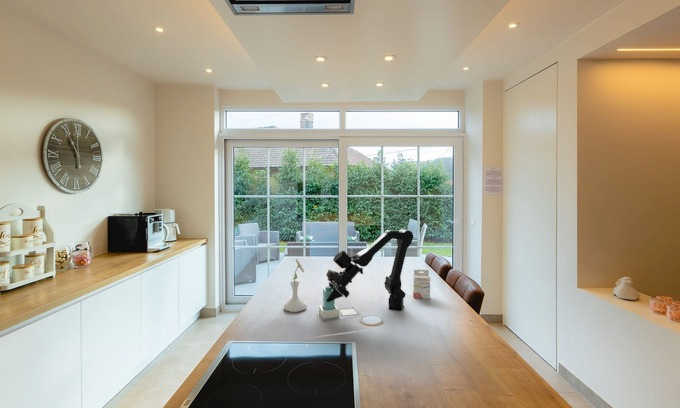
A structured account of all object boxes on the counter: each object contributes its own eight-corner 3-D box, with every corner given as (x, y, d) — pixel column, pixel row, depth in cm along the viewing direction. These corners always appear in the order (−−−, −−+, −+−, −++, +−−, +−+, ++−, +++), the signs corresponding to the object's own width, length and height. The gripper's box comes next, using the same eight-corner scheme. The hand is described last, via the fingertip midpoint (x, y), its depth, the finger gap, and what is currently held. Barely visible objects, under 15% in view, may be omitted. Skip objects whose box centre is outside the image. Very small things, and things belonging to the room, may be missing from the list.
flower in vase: (302, 315, 162) (301, 263, 161) (280, 313, 164) (279, 262, 163) (310, 305, 175) (309, 257, 173) (289, 304, 177) (288, 256, 176)
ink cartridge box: (414, 298, 184) (414, 271, 183) (413, 295, 188) (413, 269, 188) (430, 298, 183) (430, 271, 182) (428, 295, 188) (429, 269, 187)
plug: (332, 312, 163) (331, 285, 162) (334, 315, 159) (334, 288, 158) (323, 313, 162) (322, 286, 161) (325, 316, 158) (325, 289, 157)
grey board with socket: (352, 307, 171) (352, 300, 170) (361, 317, 158) (361, 309, 158) (315, 312, 165) (315, 304, 165) (321, 322, 153) (321, 313, 153)
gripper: (331, 259, 169) (309, 283, 167) (342, 268, 151) (318, 295, 149) (346, 274, 172) (325, 297, 169) (359, 284, 154) (335, 311, 151)
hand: (325, 300), depth 160 cm, fingers closed on plug, 4 cm apart
